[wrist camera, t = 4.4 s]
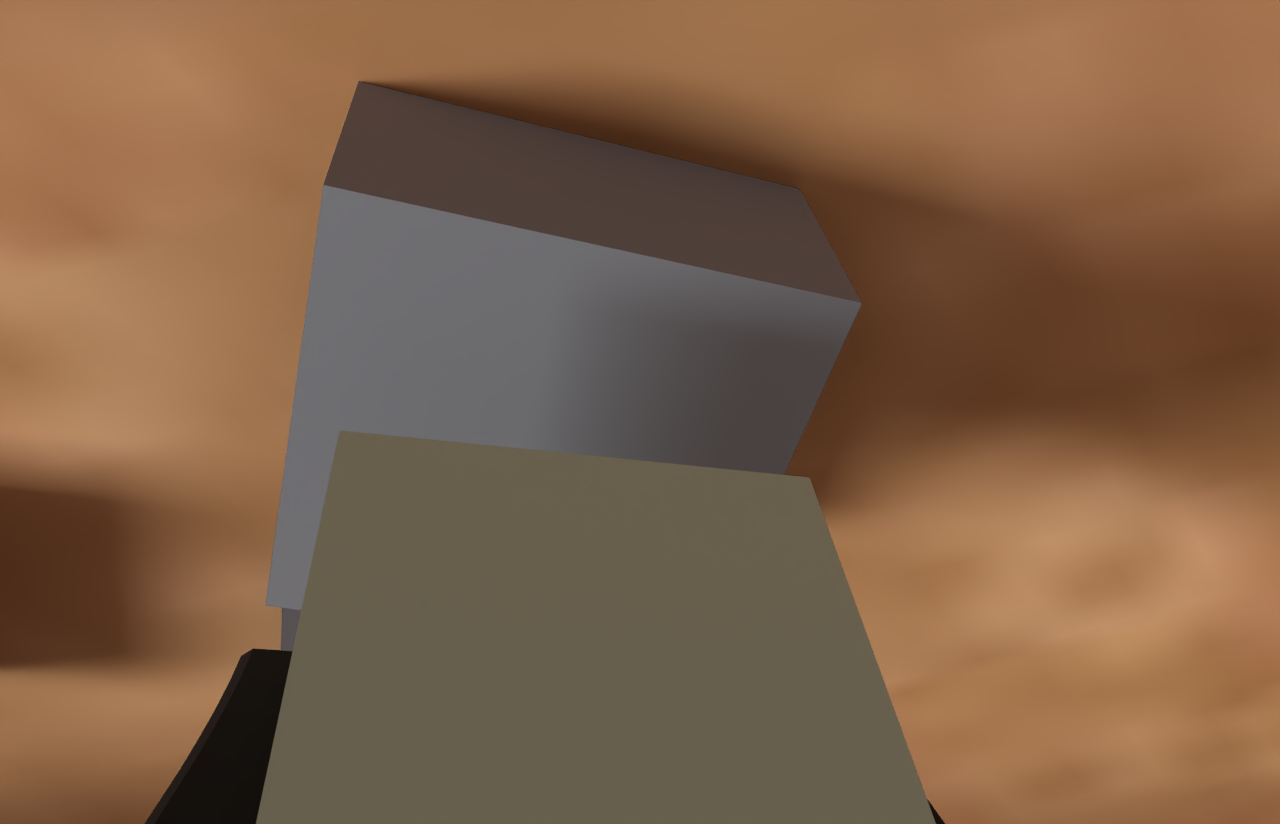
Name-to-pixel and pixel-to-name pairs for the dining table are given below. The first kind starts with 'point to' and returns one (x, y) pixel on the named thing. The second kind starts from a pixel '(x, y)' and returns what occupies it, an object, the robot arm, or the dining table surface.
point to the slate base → (550, 304)
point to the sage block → (578, 650)
